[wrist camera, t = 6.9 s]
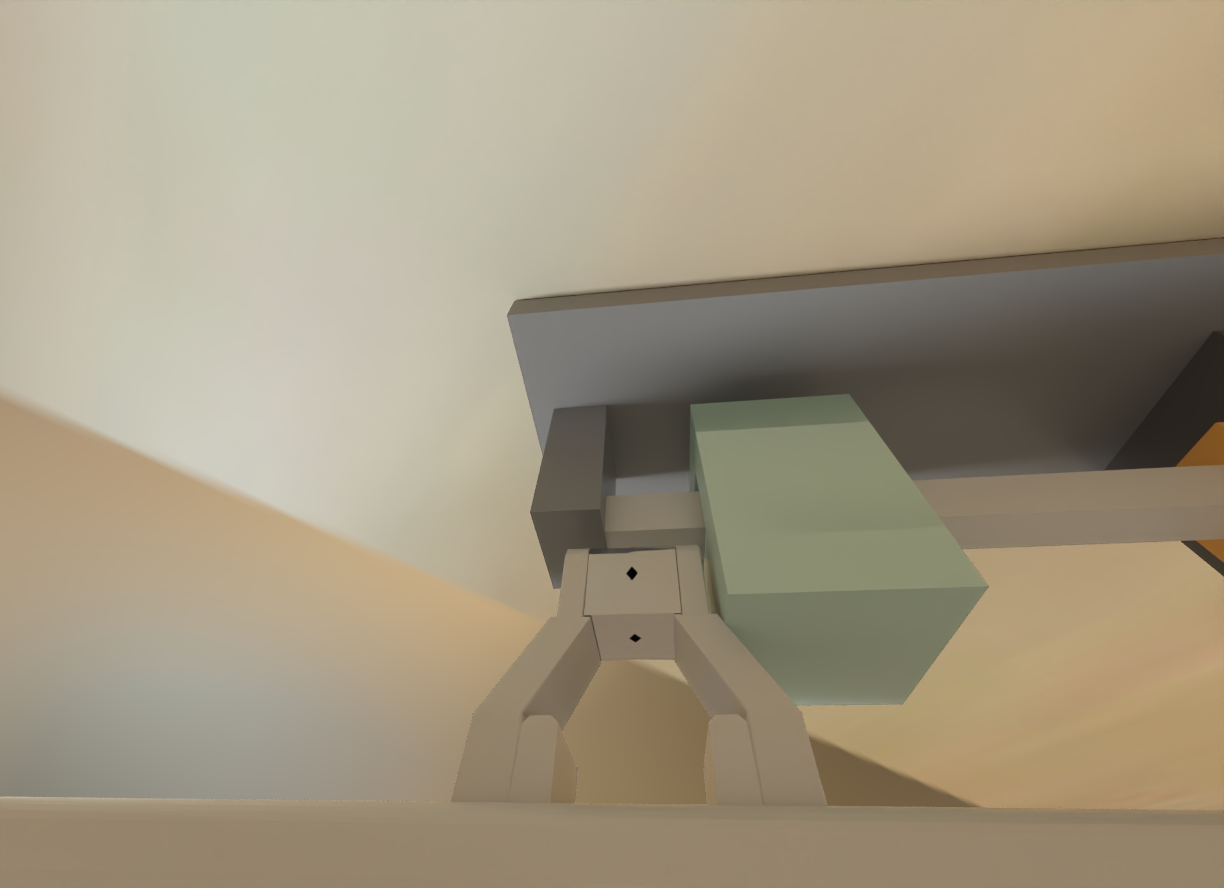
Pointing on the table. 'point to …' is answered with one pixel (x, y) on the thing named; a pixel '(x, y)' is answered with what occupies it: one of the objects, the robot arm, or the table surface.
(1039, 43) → the table surface
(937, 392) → the slider rail mechanism
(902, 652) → the sleeve
